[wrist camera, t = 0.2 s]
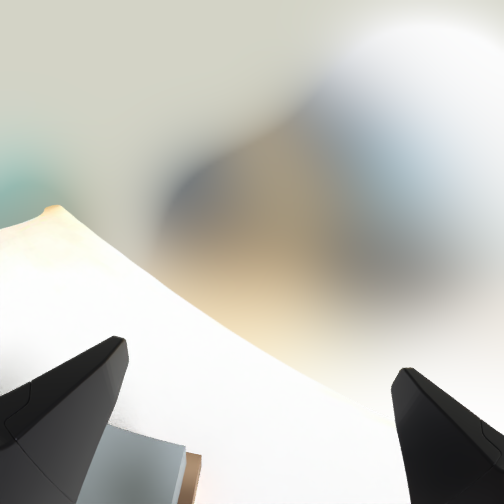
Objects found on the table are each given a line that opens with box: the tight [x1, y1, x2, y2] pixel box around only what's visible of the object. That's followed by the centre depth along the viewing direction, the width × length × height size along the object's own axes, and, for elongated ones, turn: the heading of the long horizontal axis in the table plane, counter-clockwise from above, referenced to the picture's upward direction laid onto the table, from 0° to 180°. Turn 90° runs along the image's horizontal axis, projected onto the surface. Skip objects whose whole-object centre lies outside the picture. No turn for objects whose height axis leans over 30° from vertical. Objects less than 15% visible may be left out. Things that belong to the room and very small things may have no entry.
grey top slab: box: [76, 424, 186, 504], centre depth 12 cm, size 8×8×3 cm
